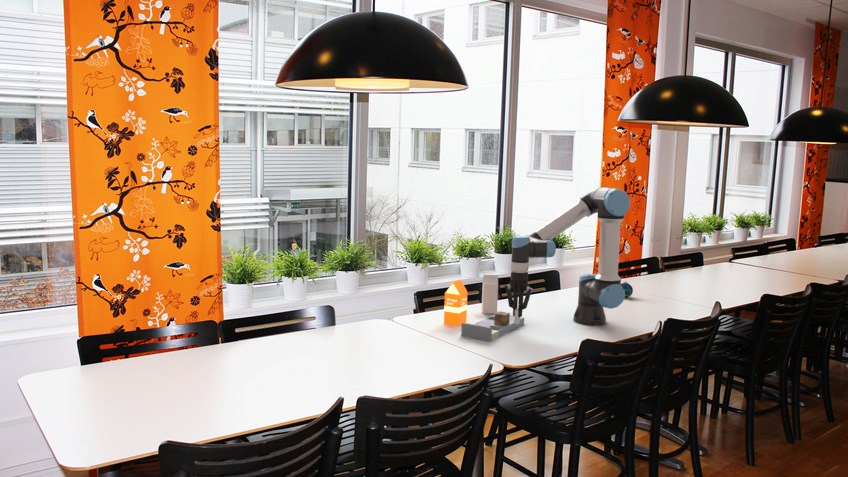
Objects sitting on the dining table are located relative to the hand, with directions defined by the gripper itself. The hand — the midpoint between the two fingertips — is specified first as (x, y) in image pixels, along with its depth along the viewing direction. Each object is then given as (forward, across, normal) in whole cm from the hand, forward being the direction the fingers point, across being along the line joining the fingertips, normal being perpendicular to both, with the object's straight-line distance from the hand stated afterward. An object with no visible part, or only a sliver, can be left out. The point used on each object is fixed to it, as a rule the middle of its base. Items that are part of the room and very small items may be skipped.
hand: (517, 323), depth 293 cm
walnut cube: (+2, +8, 0) cm, 8 cm away
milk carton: (+5, +27, -28) cm, 39 cm away
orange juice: (+5, +31, 0) cm, 31 cm away
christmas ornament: (+5, -20, -105) cm, 107 cm away
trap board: (+5, +11, 0) cm, 12 cm away
